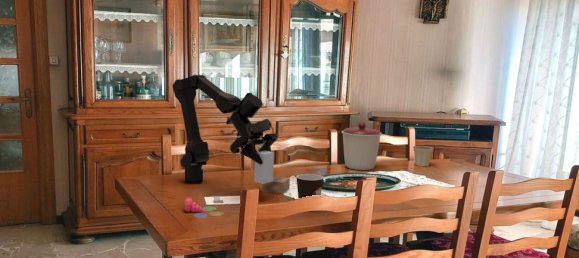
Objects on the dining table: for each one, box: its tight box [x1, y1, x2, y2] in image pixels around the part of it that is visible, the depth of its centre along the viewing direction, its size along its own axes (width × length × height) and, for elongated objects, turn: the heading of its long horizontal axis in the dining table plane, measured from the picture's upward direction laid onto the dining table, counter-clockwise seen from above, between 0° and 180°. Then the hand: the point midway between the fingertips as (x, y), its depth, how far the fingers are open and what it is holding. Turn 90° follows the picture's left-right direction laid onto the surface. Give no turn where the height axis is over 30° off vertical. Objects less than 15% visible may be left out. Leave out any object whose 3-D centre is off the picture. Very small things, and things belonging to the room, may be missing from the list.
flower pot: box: [412, 145, 434, 167], centre depth 235 cm, size 9×9×9 cm
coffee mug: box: [296, 173, 325, 199], centre depth 159 cm, size 12×9×10 cm
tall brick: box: [253, 151, 275, 185], centre depth 165 cm, size 4×5×10 cm
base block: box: [261, 175, 291, 195], centre depth 180 cm, size 8×8×4 cm
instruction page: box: [204, 195, 241, 206], centre depth 164 cm, size 12×9×1 cm
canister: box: [341, 121, 383, 171], centre depth 223 cm, size 18×18×21 cm
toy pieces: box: [183, 197, 224, 219], centre depth 150 cm, size 12×11×4 cm
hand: (267, 162), depth 164 cm, fingers closed on tall brick, 5 cm apart
